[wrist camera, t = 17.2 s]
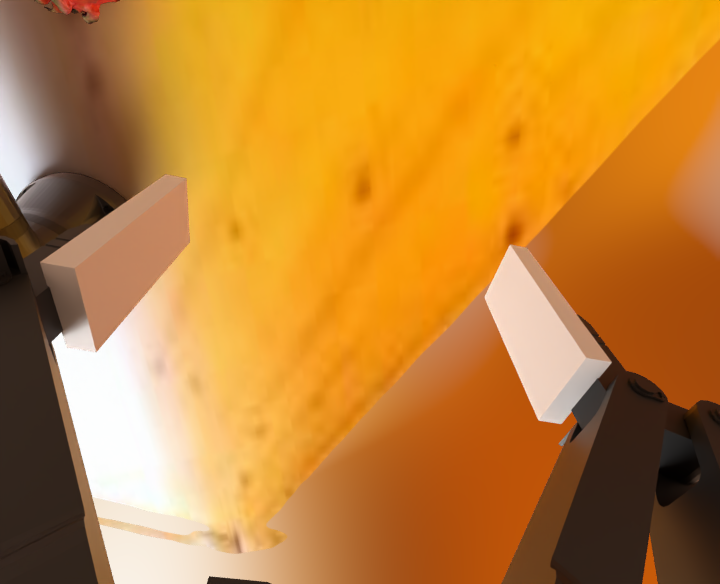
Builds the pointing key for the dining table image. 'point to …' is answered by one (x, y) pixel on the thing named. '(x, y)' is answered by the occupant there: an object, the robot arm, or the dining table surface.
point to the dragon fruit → (77, 7)
